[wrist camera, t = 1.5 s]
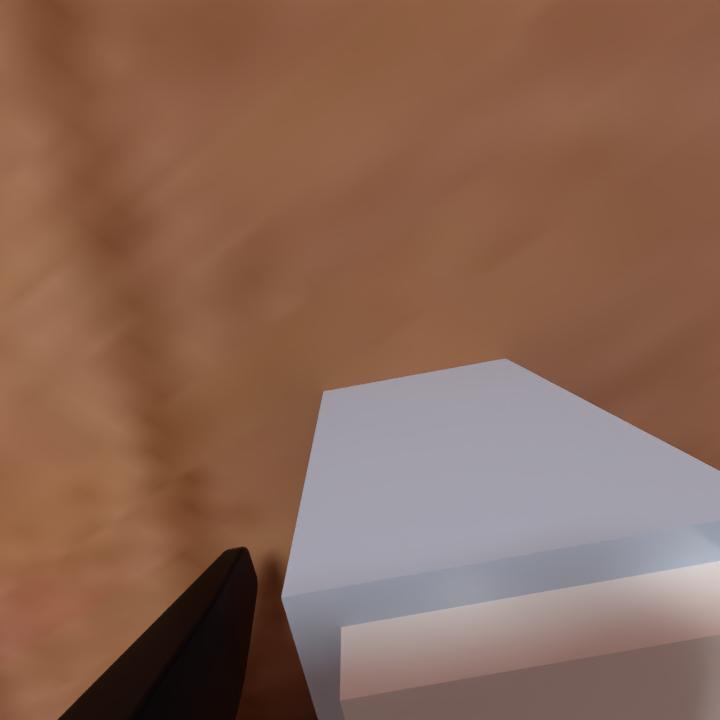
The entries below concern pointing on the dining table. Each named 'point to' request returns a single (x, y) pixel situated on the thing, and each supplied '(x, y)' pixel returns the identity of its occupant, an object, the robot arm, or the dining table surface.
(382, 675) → the white cube
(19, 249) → the dining table surface
